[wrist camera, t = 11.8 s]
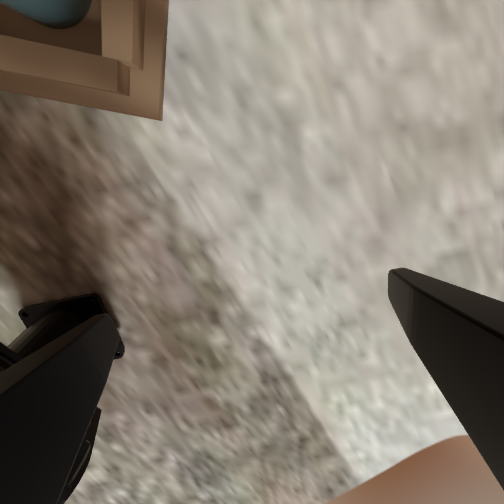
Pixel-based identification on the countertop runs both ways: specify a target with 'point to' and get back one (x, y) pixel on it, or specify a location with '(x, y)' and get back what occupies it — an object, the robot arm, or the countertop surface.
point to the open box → (90, 57)
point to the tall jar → (51, 11)
